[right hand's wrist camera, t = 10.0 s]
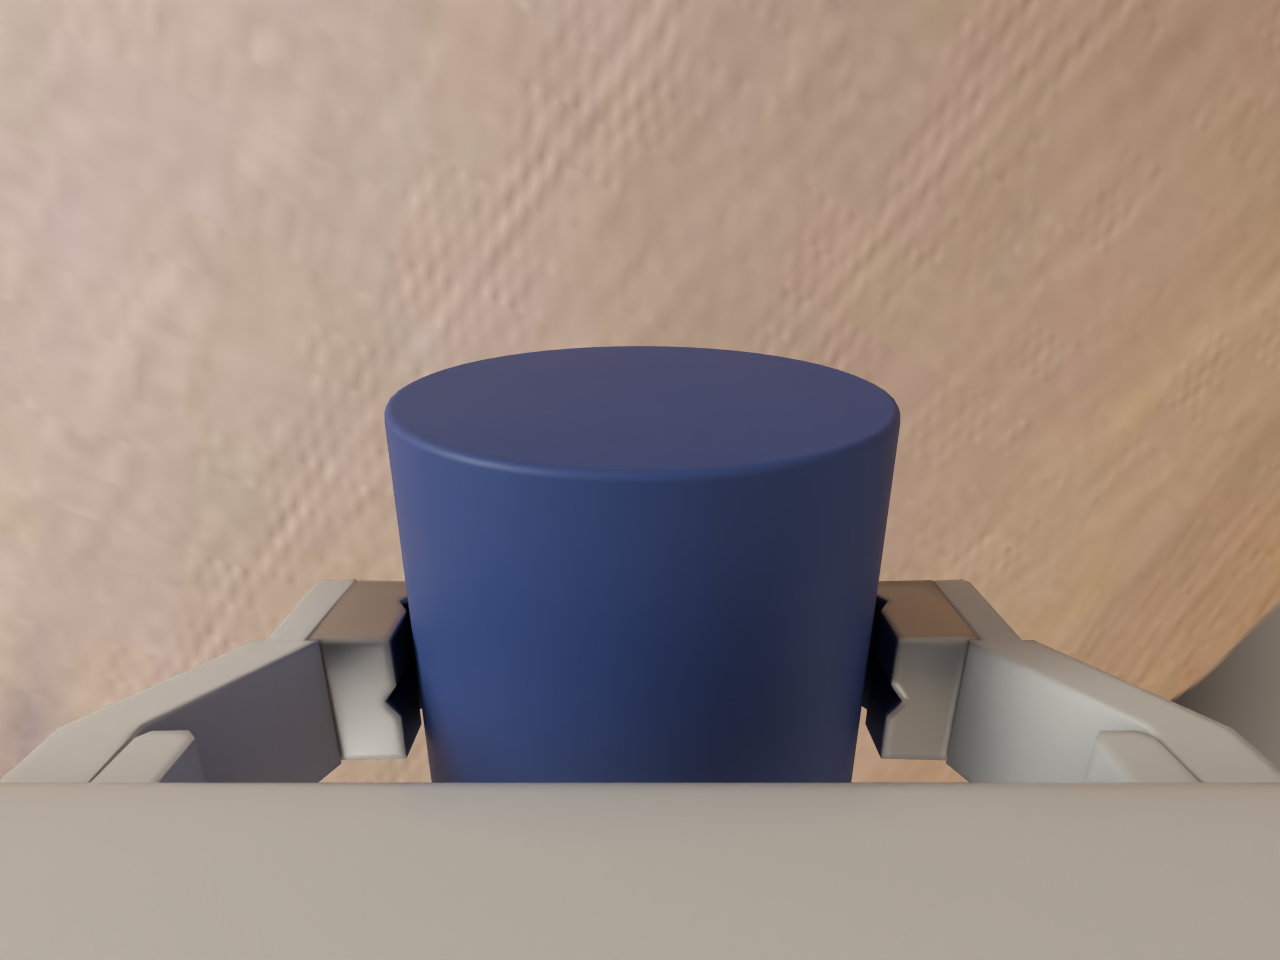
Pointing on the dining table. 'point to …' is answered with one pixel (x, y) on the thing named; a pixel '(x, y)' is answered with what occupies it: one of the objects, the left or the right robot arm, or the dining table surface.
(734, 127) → the dining table surface
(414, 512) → the cylinder
